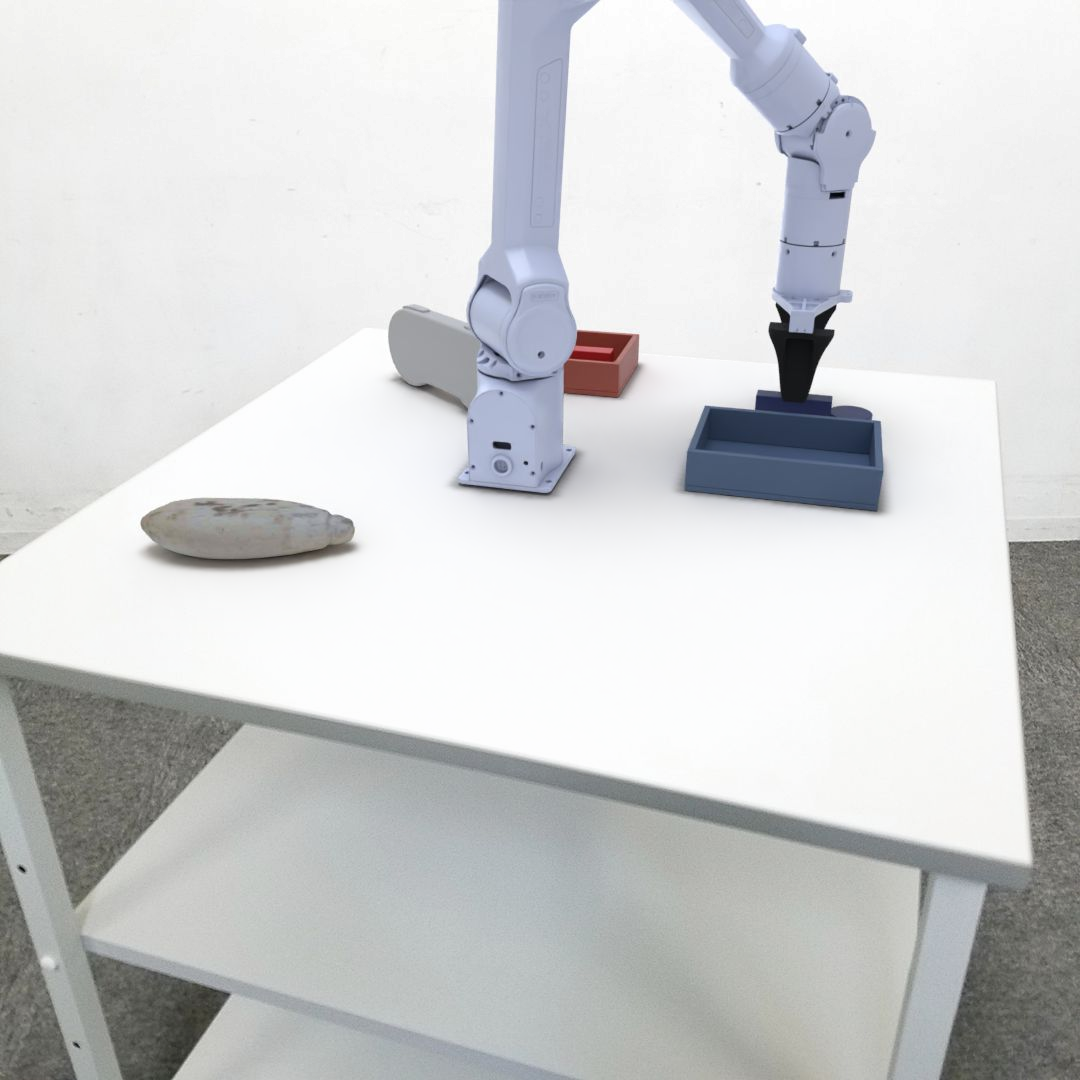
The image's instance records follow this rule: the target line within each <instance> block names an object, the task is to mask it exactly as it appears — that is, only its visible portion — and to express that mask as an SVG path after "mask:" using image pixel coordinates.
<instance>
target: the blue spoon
mask: <svg viewBox="0 0 1080 1080" xmlns="http://www.w3.org/2000/svg"><path fill="white" fill-rule="evenodd" d="M833 397H834V396H833V395H827V394H815V393H809V394H808V397H807V399H806V401H805V403H796V402H784V401H782V398H781V392H780V390H779V391H778V390H768V389H767V390H765V389H757V392H756V395H755V402H754V403H755V405H754V410H762V411H774V412H785V413H796V414H808V415H819V416H831V417H842V418H853V419H865V420H873V416H874V415H873V412H872V411H871V410H869V409H867V408H863V407H861V406H855V405H836V406H833Z"/></svg>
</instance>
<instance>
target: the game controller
mask: <svg viewBox="0 0 1080 1080" xmlns="http://www.w3.org/2000/svg"><path fill="white" fill-rule="evenodd" d="M387 341H388V348H389V353H390V356H391V359H392V362H393V365H394V367H395V369H396V371H397V372H398V374H399V376H400V377H401V378H402V380H404V381H405V382H406V383H408V384H409V385H410V386H414V387H421V386H426V385H430V386H431V387H434V388H437V389H439V390H441V391H443V392H446V393H448V394H451V395H452V396H454V397H456V398H458V399H459V400H460V401H461V403H462V404H463V405H464V406H465V408H466V409H467V410H468V409H469V406H470V404H471V402H472V401H473V399H474V398H475V396H476V394H477V355H478V352H479V349H480V341H479V340H478V339H477V338H476V337H475V336H474V335H473V334H472V332H471V330H470V328H469V326H468V323H467V321H463V320H460V319H457V318H454V317H452V316H449V315H446V314H444V313H441V312H437V311H435V310H432V309H430V308H428V307H426V306H422V305H419V304H415V303H414V304H413V303H411V304H407V305H403V306H402V308H400V309H397V310H396V311H395V312H394V313H393V315H392V316H391V318H390V321H389V323H388V330H387Z"/></svg>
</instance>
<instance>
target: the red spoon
mask: <svg viewBox="0 0 1080 1080" xmlns="http://www.w3.org/2000/svg"><path fill="white" fill-rule="evenodd" d="M568 359H579V360H591V361H604V362H614V349H613V348H600V347H587V346H575V347H574V349H573V352H572V354H571V355H570V357H569V358H568Z"/></svg>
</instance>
